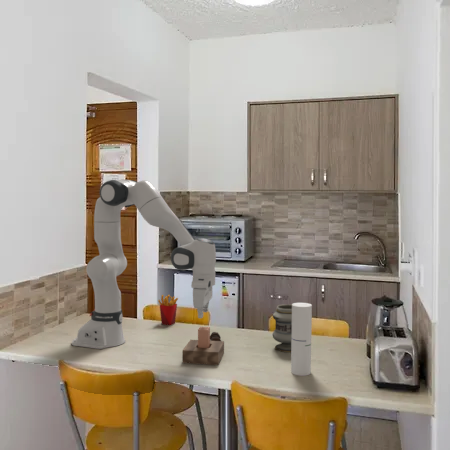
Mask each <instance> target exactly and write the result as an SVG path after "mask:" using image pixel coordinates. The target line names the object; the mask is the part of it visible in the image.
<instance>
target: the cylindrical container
mask: <svg viewBox="0 0 450 450" xmlns="http://www.w3.org/2000/svg"><path fill="white" fill-rule="evenodd" d="M291 305H292V339H291V352H290V353H291V354H290V355H291V356H290V371H291V374H292V375H295V376H302V377H303V376H308V375H311V373H312V372H311V371H312V365H311V364H312V325H313V324H312V323H313V321H312V320H313V319H312V318H313V317H312V314H313V313H312V312H313V309H312V308H313V305H312V304H311V303H310V302H309V303H308V302H293V303H292V304H291Z"/></svg>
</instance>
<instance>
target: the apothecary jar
mask: <svg viewBox="0 0 450 450" xmlns="http://www.w3.org/2000/svg"><path fill="white" fill-rule="evenodd" d="M272 318H273V320H275V327H274V328H275V329H274V330H273V331H272V338H273V339H274V340H275V341H276V342H278V344H276V345H274V349H275V350H276V351H280V352H284V353H291V339H292V304H290V303H288V304H285V303H283V304H278V305H277V306H276V309H275V310H274V312H273V314H272Z"/></svg>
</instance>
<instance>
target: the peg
mask: <svg viewBox="0 0 450 450" xmlns="http://www.w3.org/2000/svg"><path fill="white" fill-rule="evenodd" d="M210 335H211V328H210V326H199V327H198V329H197V340H198V348H210Z"/></svg>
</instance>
